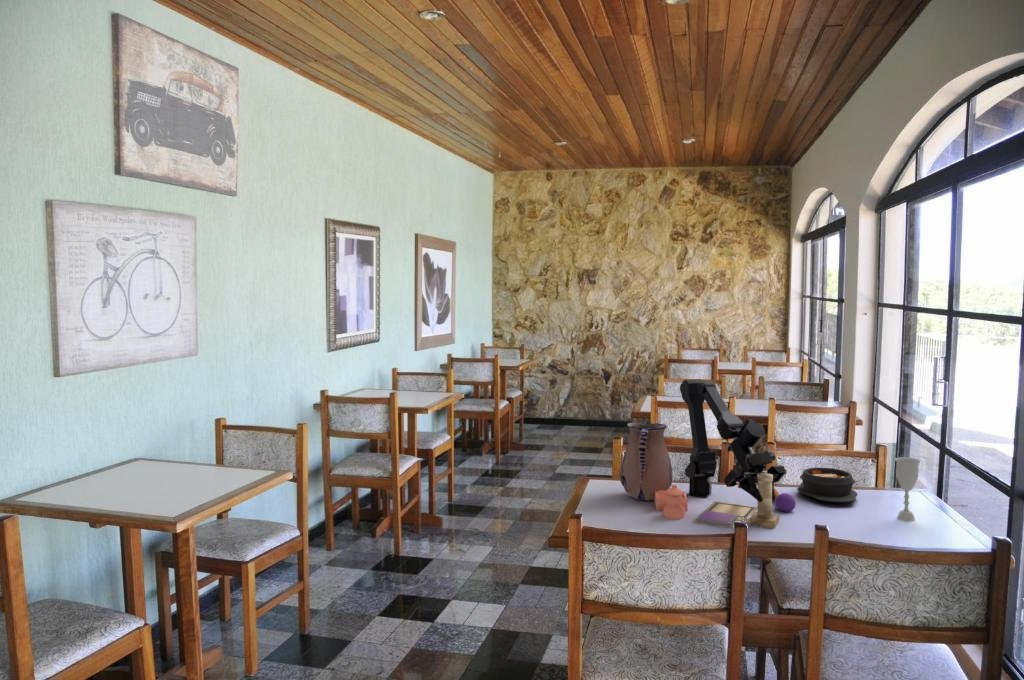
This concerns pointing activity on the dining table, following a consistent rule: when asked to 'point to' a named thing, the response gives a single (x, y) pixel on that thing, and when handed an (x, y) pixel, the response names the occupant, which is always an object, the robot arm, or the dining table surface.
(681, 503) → the pottery
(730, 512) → the stamp board
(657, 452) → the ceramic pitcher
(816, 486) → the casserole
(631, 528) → the dining table surface
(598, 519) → the dining table surface
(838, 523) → the dining table surface
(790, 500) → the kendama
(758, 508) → the stamp
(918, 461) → the chalice
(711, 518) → the ink pad
